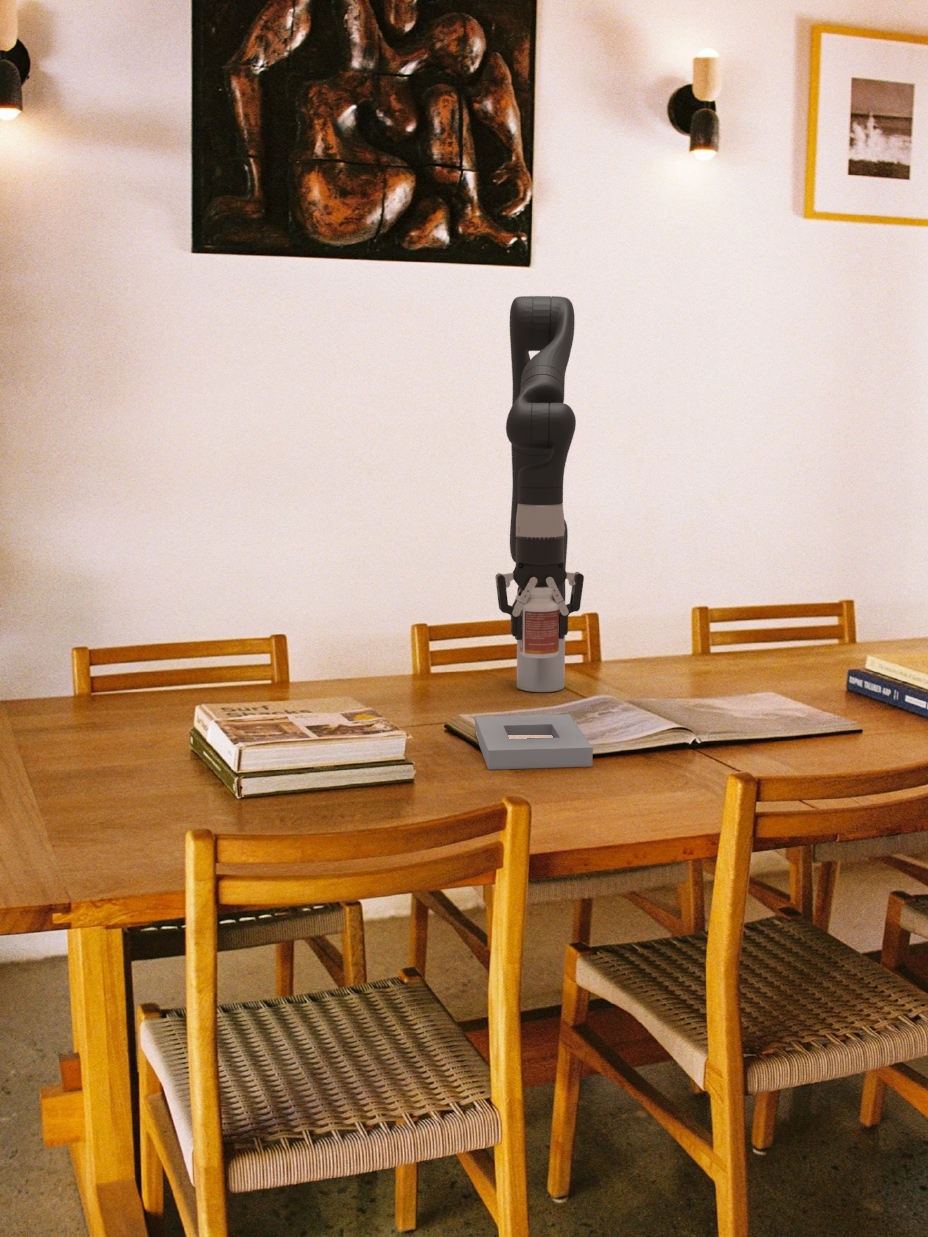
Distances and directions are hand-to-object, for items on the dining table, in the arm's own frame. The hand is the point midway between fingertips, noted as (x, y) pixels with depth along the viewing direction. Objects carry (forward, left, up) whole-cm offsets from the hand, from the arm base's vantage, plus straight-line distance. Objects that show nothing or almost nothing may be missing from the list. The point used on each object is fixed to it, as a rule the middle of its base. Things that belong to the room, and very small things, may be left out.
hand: (539, 638), depth 198 cm
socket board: (0, -1, -18) cm, 18 cm away
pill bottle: (0, 0, -3) cm, 3 cm away
